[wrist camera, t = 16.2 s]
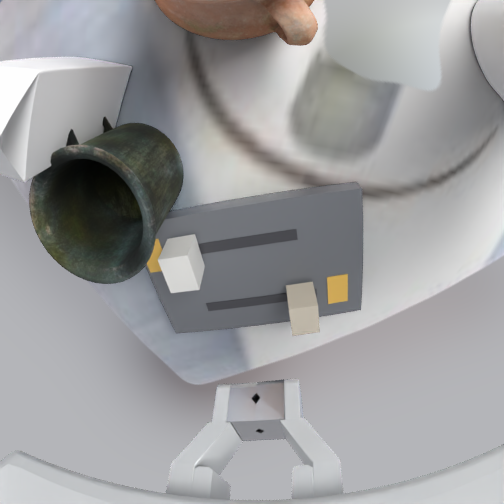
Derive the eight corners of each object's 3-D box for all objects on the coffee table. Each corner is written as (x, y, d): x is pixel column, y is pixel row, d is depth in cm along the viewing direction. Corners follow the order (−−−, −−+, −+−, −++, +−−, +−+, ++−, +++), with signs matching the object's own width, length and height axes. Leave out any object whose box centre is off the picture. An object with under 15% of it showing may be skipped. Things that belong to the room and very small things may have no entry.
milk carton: (115, 132, 28) (-15, 211, 12) (61, 118, 27) (-75, 184, 10) (133, 66, 24) (-9, 77, 8) (76, 56, 23) (-72, 75, 7)
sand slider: (312, 281, 34) (318, 305, 31) (314, 307, 36) (319, 332, 33) (285, 285, 35) (288, 309, 31) (289, 311, 37) (292, 335, 33)
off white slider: (194, 234, 31) (187, 255, 28) (204, 266, 33) (199, 289, 30) (167, 238, 32) (157, 259, 28) (178, 270, 34) (171, 293, 30)
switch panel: (356, 181, 30) (362, 188, 29) (357, 299, 39) (361, 310, 37) (136, 218, 33) (129, 227, 31) (178, 322, 41) (175, 333, 40)
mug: (121, 230, 34) (76, 297, 24) (66, 119, 27) (-8, 150, 16) (205, 199, 32) (181, 265, 22) (150, 70, 25) (90, 72, 14)
